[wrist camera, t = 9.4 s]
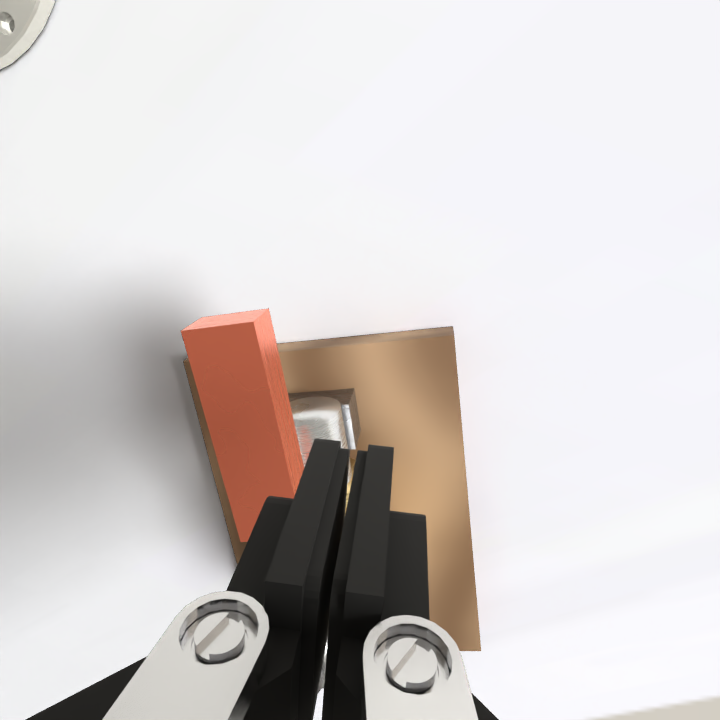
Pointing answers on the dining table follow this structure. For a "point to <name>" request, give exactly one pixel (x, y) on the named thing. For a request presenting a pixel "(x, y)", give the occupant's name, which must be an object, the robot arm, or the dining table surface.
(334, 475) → the robot arm
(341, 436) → the ball valve
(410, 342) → the base board
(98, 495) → the dining table surface
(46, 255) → the dining table surface
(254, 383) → the lever
